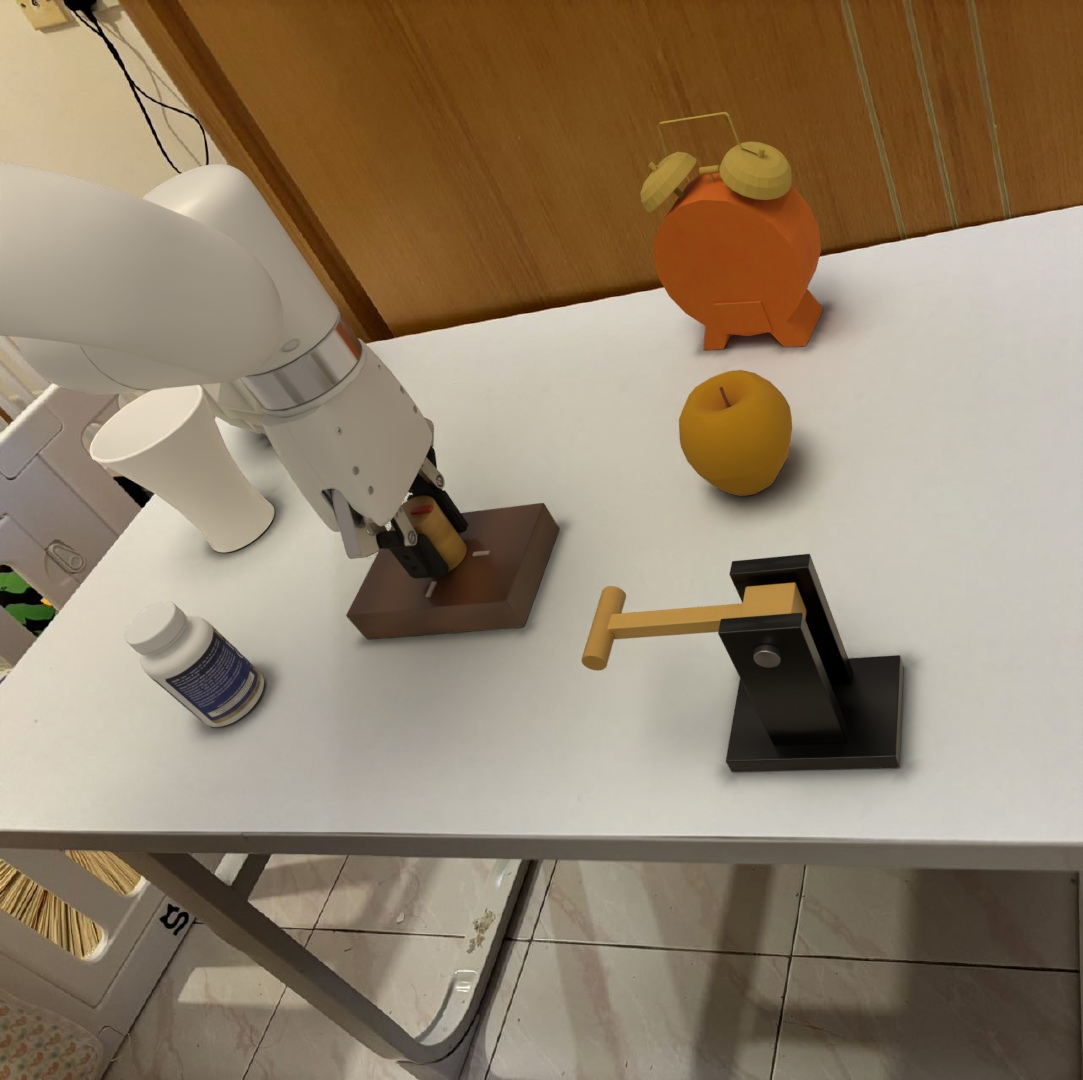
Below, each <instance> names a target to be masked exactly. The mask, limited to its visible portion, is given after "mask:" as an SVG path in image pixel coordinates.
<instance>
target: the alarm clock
mask: <svg viewBox="0 0 1083 1080" xmlns="http://www.w3.org/2000/svg"><path fill="white" fill-rule="evenodd" d="M720 115H725V116H726V117H727V119H728V122H729V125H730V127H731V130H732V132H733V136H734V138H735V140H736V143H737V144H736V145H735V146H733V147H731V148H730V149H729V150H728V151H727V152H726V153H725V154H724V157H723V158H722V161H721V162H720V164H716V165H708V166H700V167H699V168H698V173H699V175H697V176H696V177H695V178H694V179H692V180H691V181H689V182H688V183H687V184H686V186H685V187H684V189H683V191H682V190H681V189H680V188H679V186H680V184H681V183H683V181H684V180H685V179H686V178H687V176H688V175H689V174H690V173H691V171H692V170H693V168H694V167H695V165H696V163H697V161H698V159H697V158H696V157H694V156H693V155H691V154H689V153H688V152H683V151H676V152H674V153H672V154H669V153H668V150H667V147H666V143H665V140H664V136H663V133H662V129H661V126H660V125H663V124H669V123H675V122H682V121H689V120H695V119H701V118H707V117H709V118H710V117H715V116H720ZM657 130H658V133H659V137H660V140H661V144H662V147H663V151H664V153H665V157H664V158H663V159H661V161H659V162H658V164H656V163H654V161H651V162H650V163H649V164H648V165H647V167H648V168H649V169H650V170H651V171H652V172H651V173H650V174H649V175H648V177H647V178H646V179H645V181H644V182H643V185H642V187H641V190H640V193H639V195H640V201H641V204H642V206H643V208H644V209H645V211H646V212H647V214H650V213H652V212H653V211H655V210H656V209H657V208H658V207H659V206H660V205H662V204H663V203H664V202H665V201H666V199H668V197H670V196H671V194H673V193H674V194H675V195H676V196H677V197H678V198H677V199H676V200H675V202H674V204H673V205H672V207H671V208H670V210H669V211H668V212H667V214H666V215H665V216H664V218H663V220H662V222H661V224H660V226H659V228H658V230H657V232H656V233H655V235H654V242H653V252H652V253H653V254H652V257H653V261H654V266H655V270H656V274H657V278H658V280H659V281H660V283H661V285H662V286H663V288H664V290H665V292H666V294H667V295H668V297H669V298H670V299H671V300H672V301H673V302H674V304H676V306H677V307H679V309H681V311H683V313H685V314H686V315H687V316H689V317H690V318H692V319H693V320H694V321H696V322H698V323H699V324H701V325H703V326H705V327H704V339H703V348H702V349H703V351H715V350H725V348H726V346H727V344H728V343H729V341H730V339H731V337H732V336H733V335H734V336H735V335H736V336H743V337H745V336H746V337H751V336H756V335H762V334H767V333H770V334H771V336H772V337H774V338H775V340H777V341H778V342H779V343H780V345H782V347H783V348H792V347H794V348H795V347H806V346H807V345H808V343H809V340H810V339H811V336H812V334H813V332H814V330H815V328H816V325H817V324H818V322H819V319H820V317H821V315H822V314H823V313H822V312H823V310H824V308H823V307H822V306H821V304H820V303H819V301H818V300H817V299H816V298H815V296H814V295H813V294H812V293H811V291H810V290H809V289H808V288H809V285H810V283H811V281H812V279H813V277H814V275H815V273H816V271H817V269H818V268H817V267H818V264H819V260H820V257H821V253H822V245H821V238H820V237H821V236H820V227H819V226H818V223H817V220H816V219H815V216H814V213H813V212H812V210H811V207H810V205H809V204H808V203H807V201H806V200H805V199H804V198H803V197H802V196H801V194H800V193H799V192H798V191H797V190H796V188H795V187H794V186H792V181H793V180H792V175H793V173H792V172H793V171H792V168H791V165H790V163H789V161H788V160H787V158H786V156H785V155H784V154H783V153H782V152H781V151H780V150H778V149H777V148H776V147H774V146H771V145H769V144H766V143H764V142H760V141H746V142H745V141H744V142H740V139H739V136H738V134H737V132H736V129H735V126H734V124H733V121H732V119H731V116H730V114H729V113H728V112H727V111H721V112H715V113H714V112H713V113H708V114H703V115H696V116H689V117H683V118H677V119H671V120H664V121H659V123H658V124H657ZM668 154H669V155H668Z"/></svg>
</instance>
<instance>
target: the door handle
mask: <svg viewBox="0 0 1083 1080" xmlns="http://www.w3.org/2000/svg"><path fill="white" fill-rule="evenodd" d="M626 600H627V594H626V591H624V590H623V589H622V588H620V587H618V586H615V585H608V586H605V587H604V588H603V589H602V590H601V594H600V597H599V600H598V603H597V605H596V606H597V607H596V609H595V613H594V616H593V620H592V623H591V626H590V630H589V633H588V636H587V640H586V643H585V646H584V649H583V653H582V656H581V663H582V665H583V666H584V668H587V669H589V670H590V671H591V670H592V671H595V672H596V671H598V672H599V671H603V670H605V669H606V668H607V667H608V663H609V660H610V657H611V653H612V650H613V645H614V642H615V640H626V639H627V640H628V639H638V638H639V639H640V638H652V637H666V636H668V637H669V636H680V635H695V634H708V633H718V631H719V626H720V621H721V619H725V618H738V617H751V616H764V615H777V614H790V613H802V614H803V616H804V619H805V618H806V608H805V606H804V603H803V601H802V598H801V596H800V593H799V591H798V588H797V586H796V583H783V584H772V585H761V586H749V587H746V588H745V594H744V599H743V603H742V602H741V603H731V604H719V605H718V604H717V605H705V606H693V607H683V608H671V609H670V608H669V609H668V608H667V609H655V610H645V611H632V612H623V610H624V606H625V603H626Z"/></svg>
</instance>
